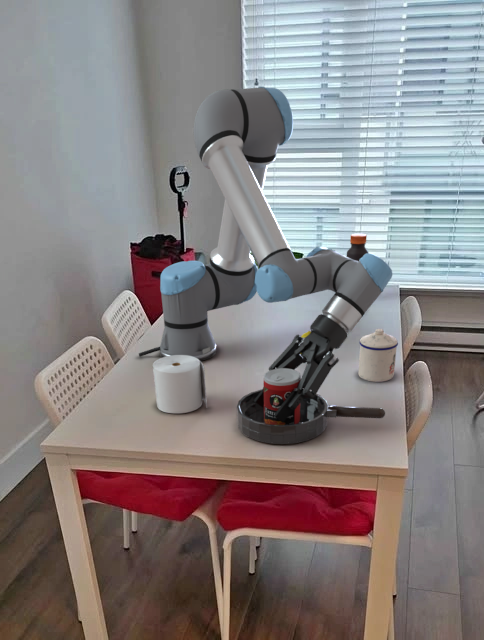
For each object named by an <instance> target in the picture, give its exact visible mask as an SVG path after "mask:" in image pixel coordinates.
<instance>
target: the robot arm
mask: <svg viewBox="0 0 484 640" xmlns="http://www.w3.org/2000/svg"><path fill="white" fill-rule="evenodd" d="M196 111H197V112H196V114H195V117H194V120H193V121H194V122H193V141H194V145H195V149H196V152H197V155H198V157H199V159H200V161H201V163H202V165H203V167H204V168H205V169H207V170H210V171H211V173H212V175H213V177H214V179H215V182H216V183H217V185H218V187H219V189H220V192H221V193H222V195H223V197H224V204H223V209H222V217H221V223H220V229H219V234H218V240H217V246H216V247H215V248H213V249H212V250H211V251H210V253H209V261H208V263H207V264H204V262H202V261H199V260H188V261H185V260H184V261H179V262H176V263H173V264H170V265H169V266H166V267H165V268H164V269H163V270H162V272H161V273H160V286H159V290H160V295H161V303H162V315H163V325H164V326H163V327H164V328H163V332H162V336H161V341H160V345H159V346H157V347H154V348H151V349H147V350H145V351H142V352H139V353H138V356H139V357H144V356H147V355H150V354H153V353H156V352H158V351H159V354H160V358H163V357H167V356H172V355H188V356H192V357H195V358H197V359H198V360H200V361H201V362H203V361H205V360H208V359H210V358H212V357H214V356H215V355H216V353H217V344H216V340H215V338H214V336H213V333H212V330H211V327H210V326H209V318H208V316H209V315H208V312H209V311H215V310H218V309H222V308H227V307H231V306H238V305H242V304H243V303H246V302H248V301H251V300H252V299H253V298H254V297H255V295H256V294H257V295H258V297H259V298H260V299H261V300H262V301H264V302H265V303H279V302H286V301H289V300H291V299H296V298H300V297H302V296H307V295H312V294H316V293H319V292H323V291H324V292H325V291H331V292H334V294H333V295H332V296H331V297H330V299H329V300H328V302H327V303H326V304H325V306H324V307H323V308H322V310H321V314H318V315H317V316H316V318H315V319H314V321H313V322H312V323H311V325H310V326H309V329H310V331H311V333H310V334H309V335H308V336H306V337H305V338H303V337H301V336H302V335H299V334H296V335H295V336H294V338H293V339H292V341H291V342H290V344H289V345H288V346H287V347H286V348H285V349H284V351H282V353H281V354H279V356H278V357H277V358H276V359H275V360H274V361H273V362H272V364H270V366H269V367H268V371H270V370H273V369H279V368H287V369H293V370H297V368H299V366H301V365H302V364H306V365H305V368H304V371H303V373H302V375H301V380H300V383H299V385H298V387H297V388H294V391H292V392H291V393H290V394H289V396H288V397H287V398H286V400H285V401H284V402H283V404H282V405H281V406H280V408H279V409H278V410H277V412H276V413H275V414H274V415H273V416H275V417H276V418H277V419H278V420H280V421H281V422H282V423H284V421H285V420H286V419H287V418H288V416H289V415H290V414H291V412H292V411H293V410H295V409H296V408H297V406H298V405H299V404H300V403H301V401H302V400H303V399H304V398H310V399H313V398H314V397H315V395H316V394H318V392H319V390H320V389H321V387H322V386H323V383H324V382H325V380H326V379H327V378H328V376H329V374H330V372H331V371H332V369H334V367H335V366H336V365H337V364H338V363H339V360H340V359H339V357H337V356H336V355H335V354H334V353H333V352H334V349H335V350H338V349H339V348H340V347H341V346H342V345H343V344H344V342H345V341H346V339H348V333H352V331H353V330H354V329H355V327H356V326H357V325H358V324H359V322H360V321H361V320H362V318H363V317H364V316H365V314H366V313H367V311H368V310H369V308H371V306H372V305H373V304H374V303H375V301H376V300H377V299H378V297H379V296H380V295H381V294H382V293H383V292H384V290H385V289H386V287H387V285H388V284H389V282H390V281H391V280H392V278H393V270H392V268H391V267H390V265H389V264H388V263H387V261H385V260H384V259H383V258H381V257H380V256H378V255H376V254H374V253H371V252H369V253H366V254H365V255H364V256H363V257H362V258H360V260H359V261H356V260H353V259H351V258H348V257H347V255H344V254H342V253H340V252H338V251H337V250H335V249H332V248H328V247H325V246H318V247H314V248H313V250H311V251H310V252H308V253H307V255H306V256H305V257H300V258H296V257H295V256H294V253H293V252H292V250H291V247H290V245H289V244H288V243H289V242H288V241H287V239H286V237H285V236H284V233H283V231H282V229H281V227H280V225H279V223H278V221H277V219H276V217H275V214H274V213H273V211H272V209H271V206H270V204H269V203H268V201H267V198H266V197H265V195H264V193H263V190H264V185H265V181H266V176H267V175H266V174H267V169H268V166H269V165H270V164H272V163H273V162H275V160H276V157H277V153H278V149H279V146H283V145H284V144H287V142H288V141H289V140H290V139H291V137H292V134H293V130H294V115H293V110H292V108H291V105H290V101H289V99H288V98H287V96H286V95H285V94H284V92H283V91H281V90H280V89H278V88H276V87H265V86H259V87H250V88H249V87H247V88H233V89H231V88H230V89H229V88H228V89H227V88H226V89H219V90H216V91H214V92H212V93H210V94H209V95H207V96H206V97H205V98H204V100H202V102H201V104H200V105H199V107H198V109H197V110H196ZM300 353H301V354H300ZM260 390H261V389H260ZM295 391H296V392H297V393H296V392H295ZM254 401H255V402H256V403H257V404H259V405H260V406H261V407H262V408H264V386H263V387H262V390H261V392H260V393H259V394H258V396H257V397H256V398H255V400H254Z"/></svg>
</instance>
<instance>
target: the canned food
mask: <svg viewBox="0 0 484 640" xmlns="http://www.w3.org/2000/svg"><path fill="white" fill-rule="evenodd" d="M301 378H302V375H301V373H300V372H299V371H298V370H297V369H295V370H293V369H287V368H279V369H276V368H275V369H273V370H270V371H269V370H268V371H266V372H265V373H264V374H263V387H264V421H265V424H271V425H290V424H298V423H299V421H300V404H299V405H298V406H297V408H296V409H295V410H293V411H292V412H291V414H290V415H289V416H288V418H287V419H286V420H285V421H284V423H282V422H281V421H280V420H278V419H277V418H276V417H275V416H273V415H274V414H275V413H276V412H277V410H278V409H279V408H280V406H281V405H282V404H283V402H284V401H285V400H286V398H287V397H288V396H289V394H290V393H291V392H292V391H294V388H297V387H298V385H299V383H300V380H301ZM295 392H296V391H295ZM296 393H297V392H296Z"/></svg>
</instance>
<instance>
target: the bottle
mask: <svg viewBox="0 0 484 640" xmlns="http://www.w3.org/2000/svg"><path fill="white" fill-rule="evenodd" d="M366 245H367V234H366V233H352V234H350V247H349V248H348V249H347V251H346V257H348V258H351V259H353V260H356V261H359V260H360V258H362V257H363V256H364V255H365V254H366V253H370V252H369V250H368V249H367V247H366Z"/></svg>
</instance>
